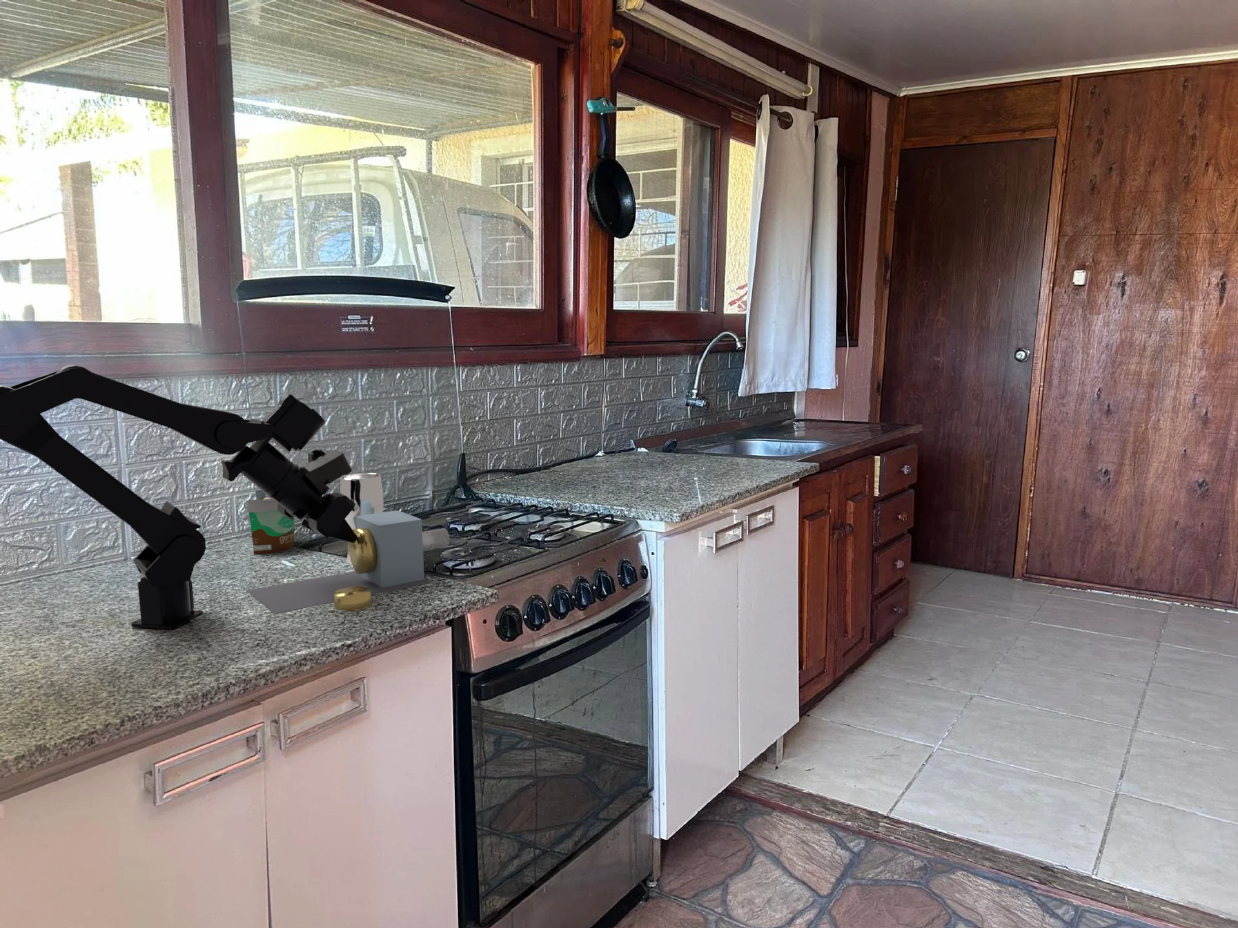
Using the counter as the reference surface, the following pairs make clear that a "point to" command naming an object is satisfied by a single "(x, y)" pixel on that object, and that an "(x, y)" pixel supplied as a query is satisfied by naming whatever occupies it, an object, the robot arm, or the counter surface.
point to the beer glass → (362, 496)
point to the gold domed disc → (352, 598)
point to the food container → (269, 527)
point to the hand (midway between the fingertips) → (355, 540)
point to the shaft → (366, 549)
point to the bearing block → (395, 547)
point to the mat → (317, 591)
